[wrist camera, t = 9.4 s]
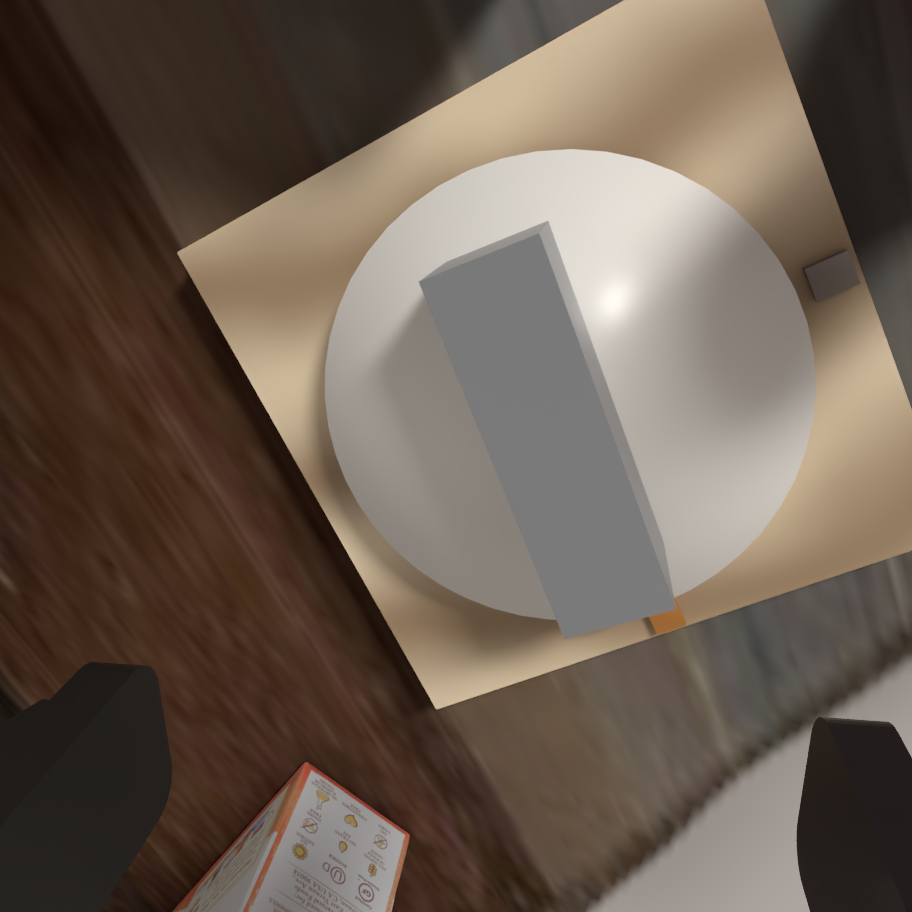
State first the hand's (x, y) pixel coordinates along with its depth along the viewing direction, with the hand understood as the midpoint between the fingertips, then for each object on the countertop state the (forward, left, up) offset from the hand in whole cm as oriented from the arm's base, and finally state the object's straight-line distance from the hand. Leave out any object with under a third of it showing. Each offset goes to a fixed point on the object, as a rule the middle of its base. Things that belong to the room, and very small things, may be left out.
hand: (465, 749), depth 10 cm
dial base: (0, +1, -19) cm, 19 cm away
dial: (0, +1, -17) cm, 17 cm away
